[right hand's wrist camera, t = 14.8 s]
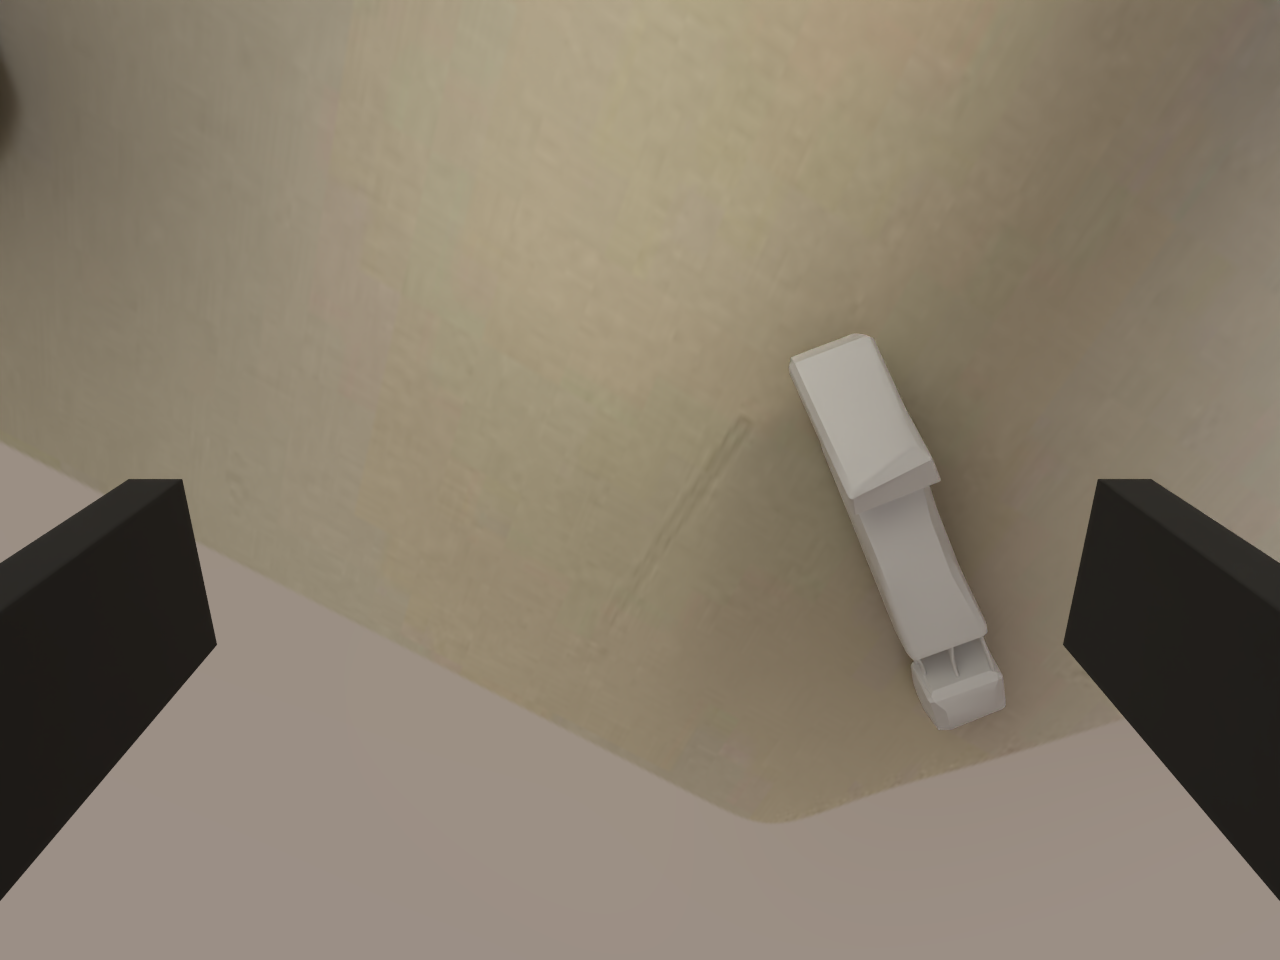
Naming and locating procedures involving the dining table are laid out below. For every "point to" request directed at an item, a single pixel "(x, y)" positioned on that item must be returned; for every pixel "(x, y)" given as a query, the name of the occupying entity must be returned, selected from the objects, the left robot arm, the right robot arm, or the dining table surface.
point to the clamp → (900, 526)
